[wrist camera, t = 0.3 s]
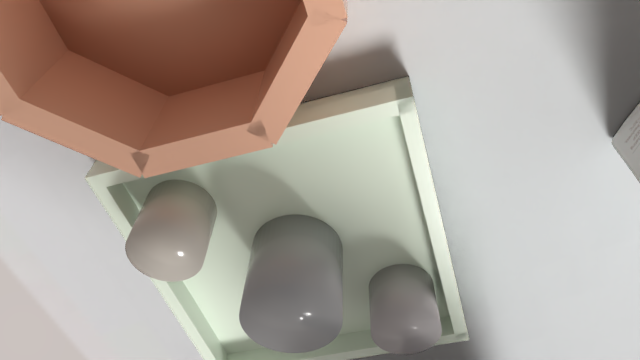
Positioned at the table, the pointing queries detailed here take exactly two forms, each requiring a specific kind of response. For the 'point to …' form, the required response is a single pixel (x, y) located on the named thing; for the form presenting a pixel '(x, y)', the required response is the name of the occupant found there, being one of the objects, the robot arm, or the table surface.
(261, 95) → the bowl
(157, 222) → the pebble
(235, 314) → the tray
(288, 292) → the grey rounded cylinder
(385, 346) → the pebble
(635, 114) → the supplement box
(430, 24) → the table surface
